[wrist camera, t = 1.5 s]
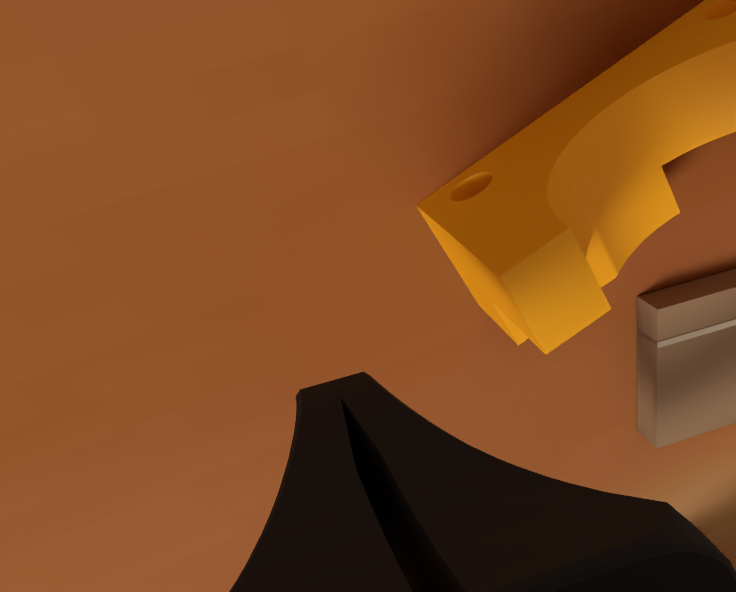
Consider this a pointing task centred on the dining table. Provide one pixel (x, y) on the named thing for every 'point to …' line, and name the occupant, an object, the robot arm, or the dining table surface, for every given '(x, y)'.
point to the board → (686, 359)
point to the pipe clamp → (587, 180)
